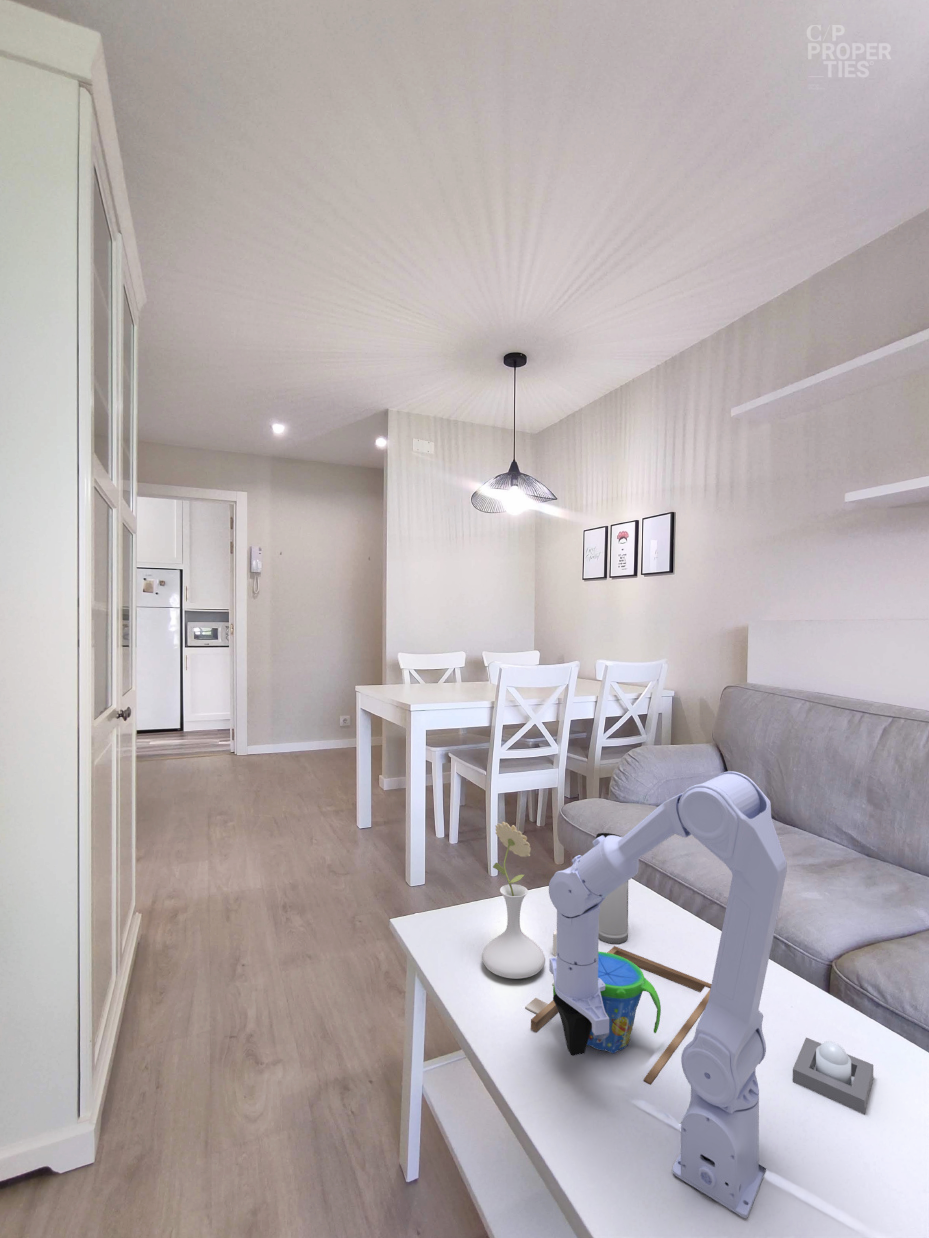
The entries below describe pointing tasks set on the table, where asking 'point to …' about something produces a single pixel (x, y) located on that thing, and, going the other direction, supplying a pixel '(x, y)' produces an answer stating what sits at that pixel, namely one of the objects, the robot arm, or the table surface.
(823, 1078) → the button box
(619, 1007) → the snack cup
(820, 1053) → the dome
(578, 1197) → the table surface
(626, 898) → the travel mug
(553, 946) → the die
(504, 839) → the flower in vase
